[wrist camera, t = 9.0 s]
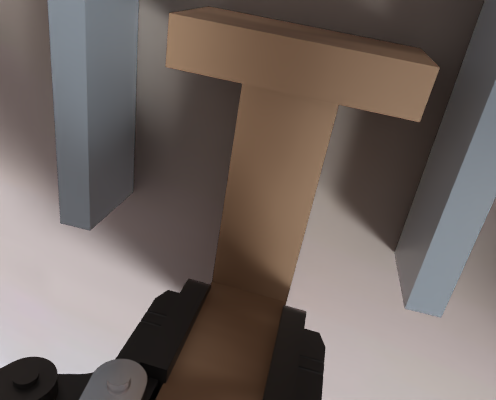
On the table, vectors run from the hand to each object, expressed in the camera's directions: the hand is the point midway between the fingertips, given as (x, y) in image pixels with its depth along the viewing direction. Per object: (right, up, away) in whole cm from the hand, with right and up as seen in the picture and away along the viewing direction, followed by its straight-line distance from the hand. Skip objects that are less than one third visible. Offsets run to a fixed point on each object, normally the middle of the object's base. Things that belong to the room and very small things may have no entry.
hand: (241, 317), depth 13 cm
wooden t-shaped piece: (+1, +3, +1) cm, 4 cm away
